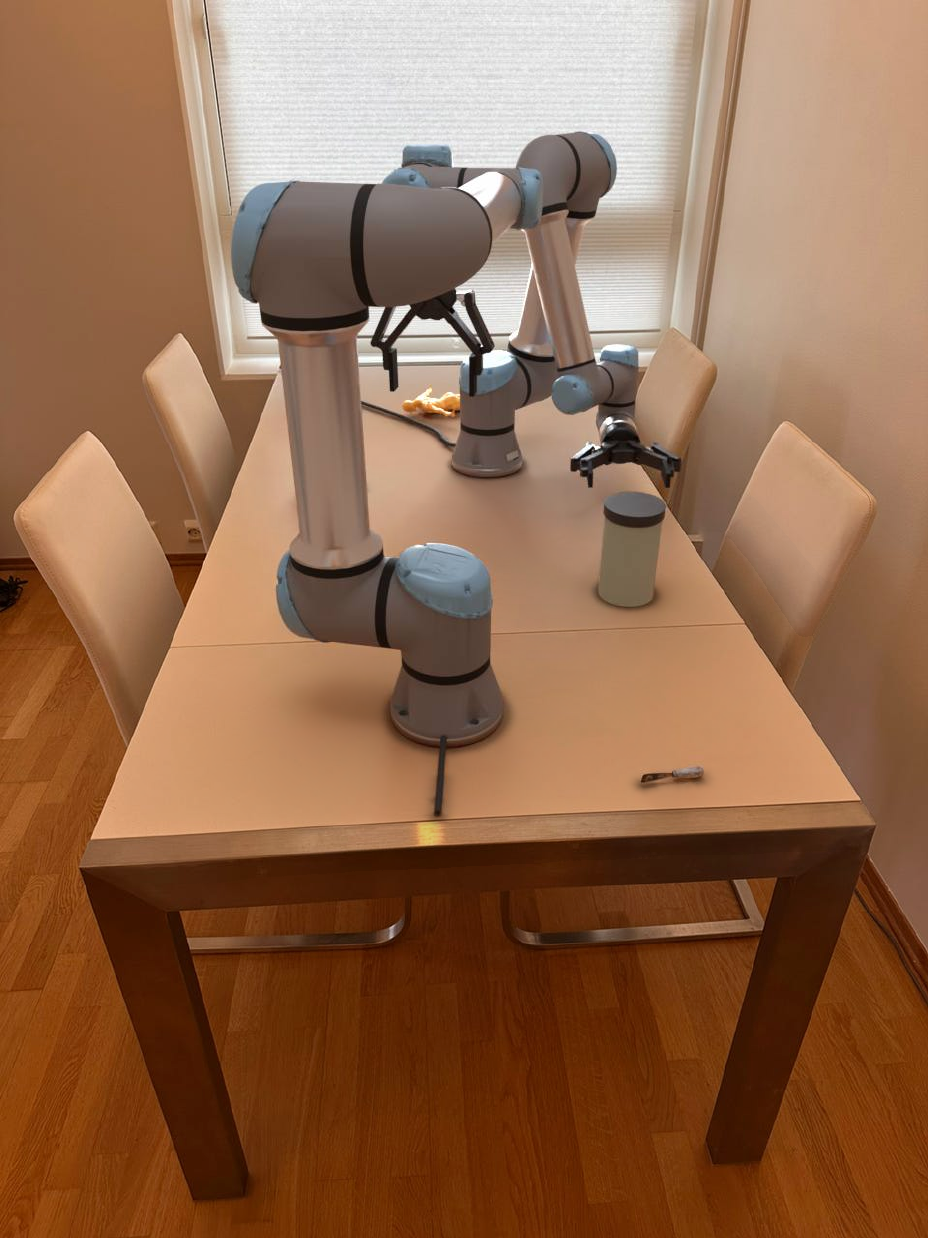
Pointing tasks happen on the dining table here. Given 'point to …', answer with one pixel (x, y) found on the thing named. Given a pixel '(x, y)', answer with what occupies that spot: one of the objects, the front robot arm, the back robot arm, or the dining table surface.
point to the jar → (628, 564)
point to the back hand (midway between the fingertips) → (629, 480)
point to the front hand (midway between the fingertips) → (433, 391)
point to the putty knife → (674, 774)
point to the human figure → (434, 403)
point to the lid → (634, 509)
